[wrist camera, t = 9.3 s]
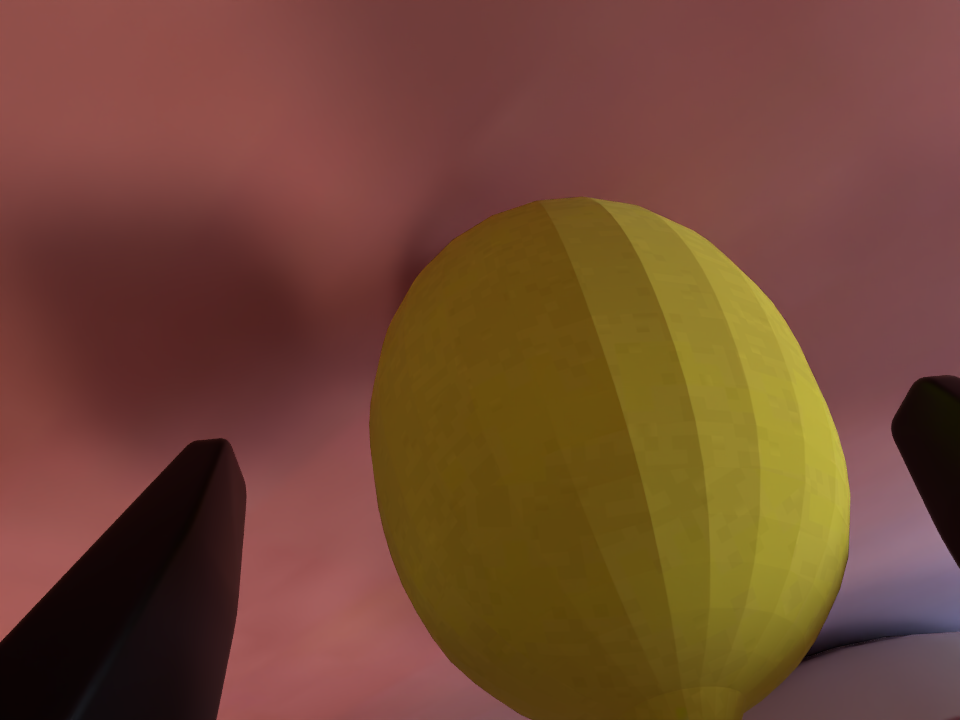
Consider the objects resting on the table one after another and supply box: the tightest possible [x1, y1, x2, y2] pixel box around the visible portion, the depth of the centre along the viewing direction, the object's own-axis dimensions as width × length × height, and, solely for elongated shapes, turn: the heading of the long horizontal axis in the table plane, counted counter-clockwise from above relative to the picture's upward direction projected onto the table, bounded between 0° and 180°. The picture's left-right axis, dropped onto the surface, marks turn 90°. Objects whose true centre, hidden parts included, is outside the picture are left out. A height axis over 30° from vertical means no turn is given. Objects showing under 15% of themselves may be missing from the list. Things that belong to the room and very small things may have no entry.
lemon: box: [369, 197, 850, 720], centre depth 8 cm, size 6×6×8 cm
